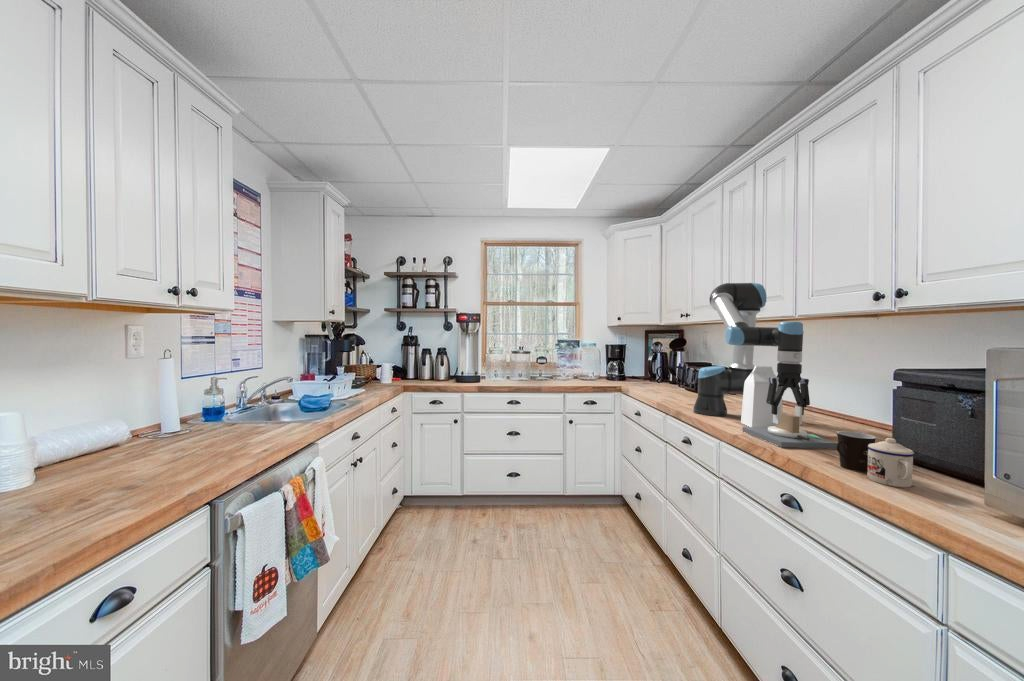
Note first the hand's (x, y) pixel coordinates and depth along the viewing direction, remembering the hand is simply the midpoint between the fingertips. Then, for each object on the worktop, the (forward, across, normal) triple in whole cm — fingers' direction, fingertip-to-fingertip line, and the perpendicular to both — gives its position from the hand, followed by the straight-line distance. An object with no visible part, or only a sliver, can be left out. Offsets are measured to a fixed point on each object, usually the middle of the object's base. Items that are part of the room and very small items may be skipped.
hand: (787, 423), depth 146 cm
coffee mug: (+6, -4, -31) cm, 32 cm away
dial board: (+6, 0, 0) cm, 6 cm away
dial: (+4, 0, -2) cm, 4 cm away
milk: (+6, +5, +22) cm, 23 cm away
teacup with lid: (+6, -3, -43) cm, 44 cm away
